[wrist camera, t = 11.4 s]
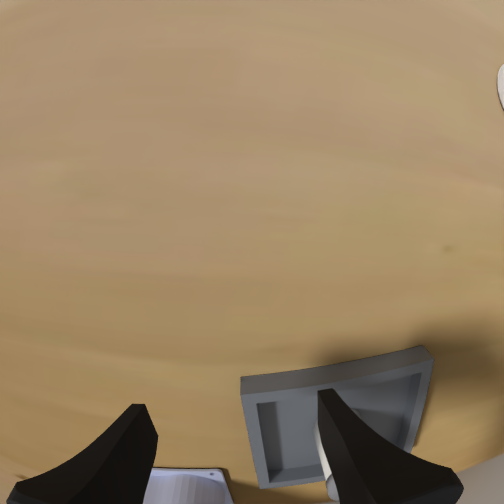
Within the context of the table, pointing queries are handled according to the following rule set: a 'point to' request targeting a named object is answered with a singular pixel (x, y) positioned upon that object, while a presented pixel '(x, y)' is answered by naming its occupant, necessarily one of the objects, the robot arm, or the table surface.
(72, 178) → the table surface
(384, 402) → the tray
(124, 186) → the table surface
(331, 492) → the shaker
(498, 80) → the can
